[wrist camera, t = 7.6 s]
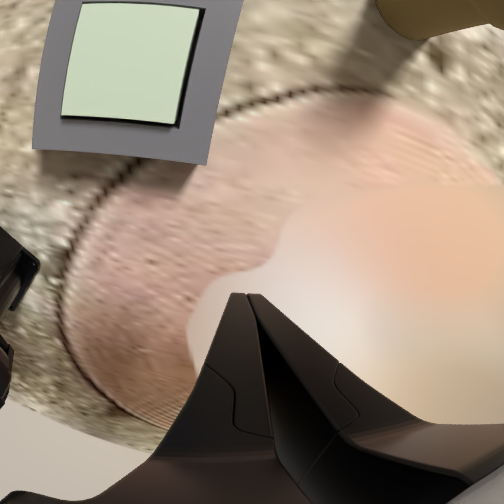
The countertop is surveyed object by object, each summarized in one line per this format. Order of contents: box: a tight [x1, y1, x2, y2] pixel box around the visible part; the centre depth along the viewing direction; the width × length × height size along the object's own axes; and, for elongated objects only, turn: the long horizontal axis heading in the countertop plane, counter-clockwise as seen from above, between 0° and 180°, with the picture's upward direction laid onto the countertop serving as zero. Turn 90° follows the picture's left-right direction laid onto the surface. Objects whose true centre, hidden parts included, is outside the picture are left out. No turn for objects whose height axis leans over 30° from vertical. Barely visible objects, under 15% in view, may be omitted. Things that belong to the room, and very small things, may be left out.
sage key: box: [61, 3, 199, 124], centre depth 14 cm, size 6×6×3 cm
